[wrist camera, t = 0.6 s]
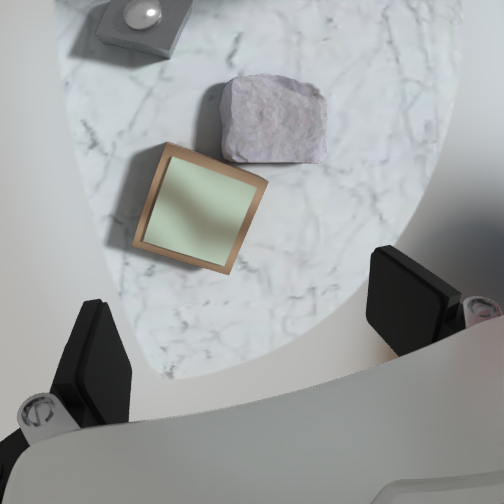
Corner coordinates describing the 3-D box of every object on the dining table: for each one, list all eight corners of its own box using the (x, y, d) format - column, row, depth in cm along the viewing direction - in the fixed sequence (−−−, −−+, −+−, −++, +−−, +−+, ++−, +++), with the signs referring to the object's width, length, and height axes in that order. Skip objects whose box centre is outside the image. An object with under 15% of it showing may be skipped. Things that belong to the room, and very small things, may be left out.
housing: (125, -2, 25) (117, -21, 20) (190, 14, 28) (193, -4, 23) (103, 43, 27) (91, 30, 22) (170, 59, 30) (168, 48, 24)
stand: (167, 141, 33) (166, 143, 29) (259, 175, 36) (269, 182, 33) (135, 233, 36) (131, 247, 32) (223, 260, 39) (229, 276, 35)
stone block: (215, 83, 33) (218, 167, 35) (223, 68, 29) (226, 163, 31) (312, 88, 36) (316, 166, 38) (329, 77, 32) (336, 163, 33)
